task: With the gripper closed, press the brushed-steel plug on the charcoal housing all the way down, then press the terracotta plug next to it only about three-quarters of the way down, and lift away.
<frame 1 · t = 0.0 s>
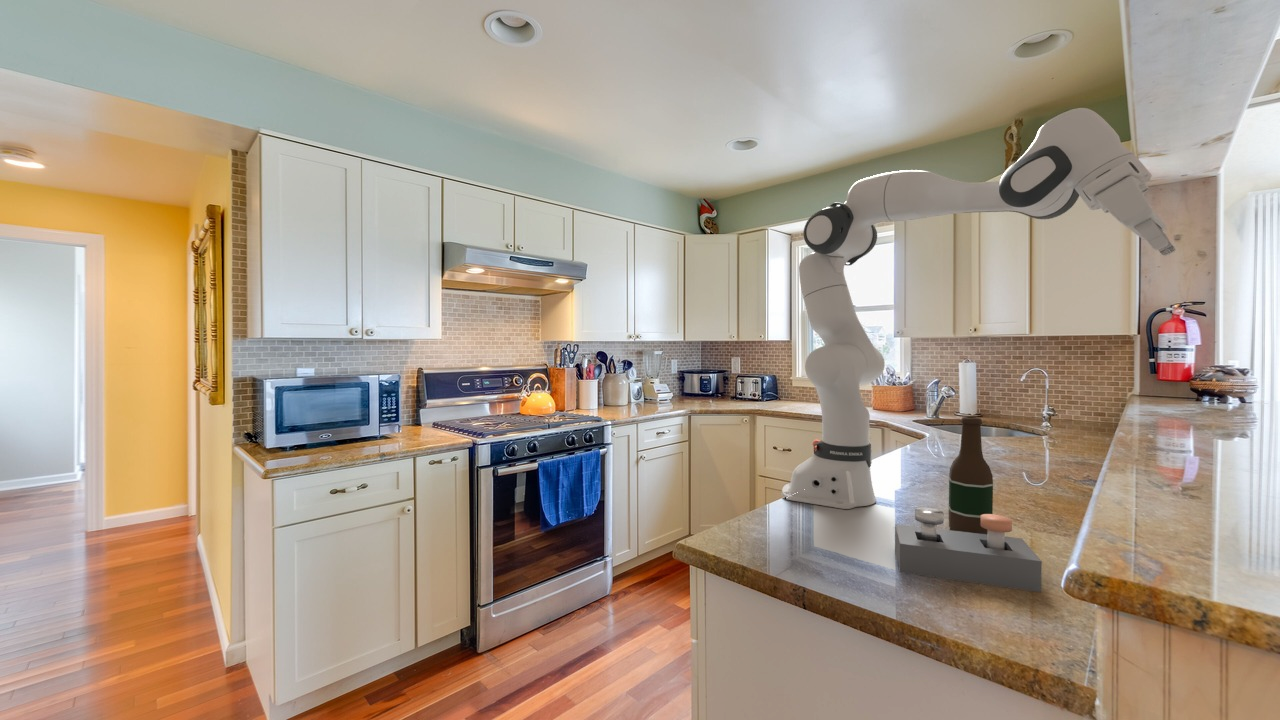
hand: (1166, 250, 85), 54 cm above the table, tool tilted 30°, fingers open, 8 cm apart
beer bottle: (969, 533, 107), on the table
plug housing: (961, 569, 90), on the table
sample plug: (929, 528, 91), point 7 cm above the table, slide at 0.0 cm
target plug: (995, 536, 88), point 7 cm above the table, slide at 0.0 cm
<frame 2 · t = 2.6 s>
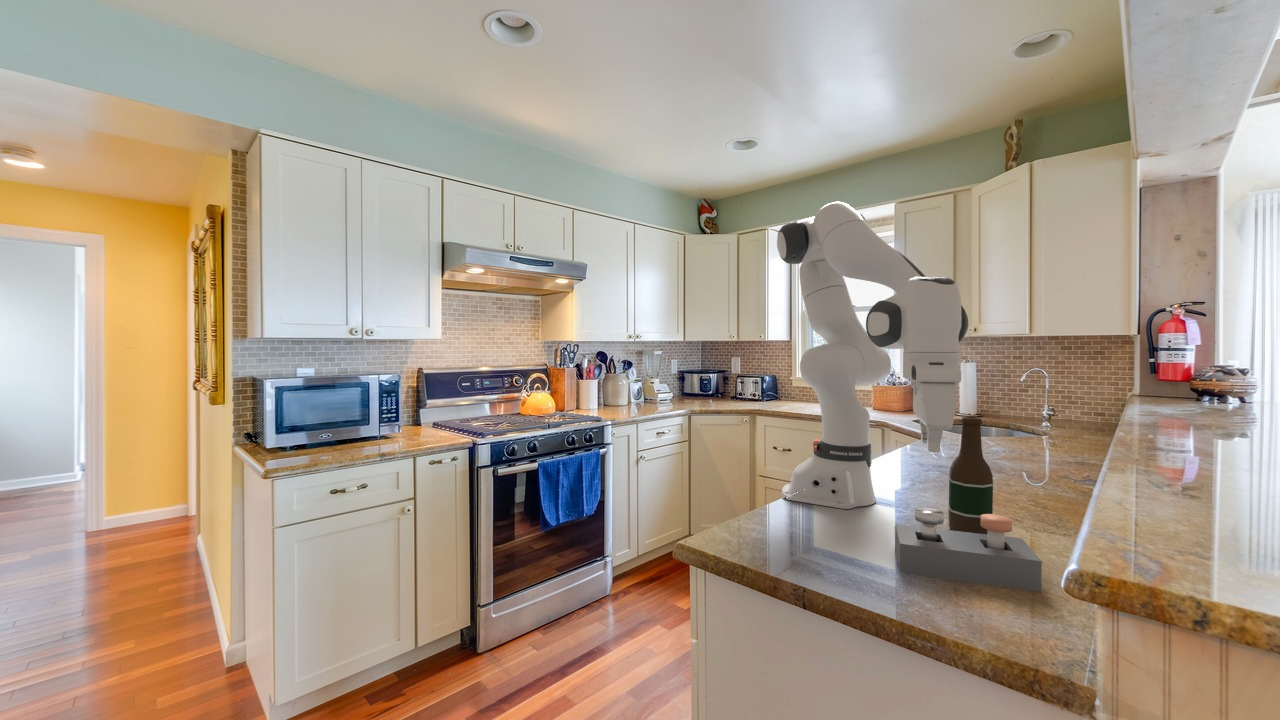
hand: (930, 447, 91), 21 cm above the table, tool pointing down, fingers open, 6 cm apart
nothing on the table moved.
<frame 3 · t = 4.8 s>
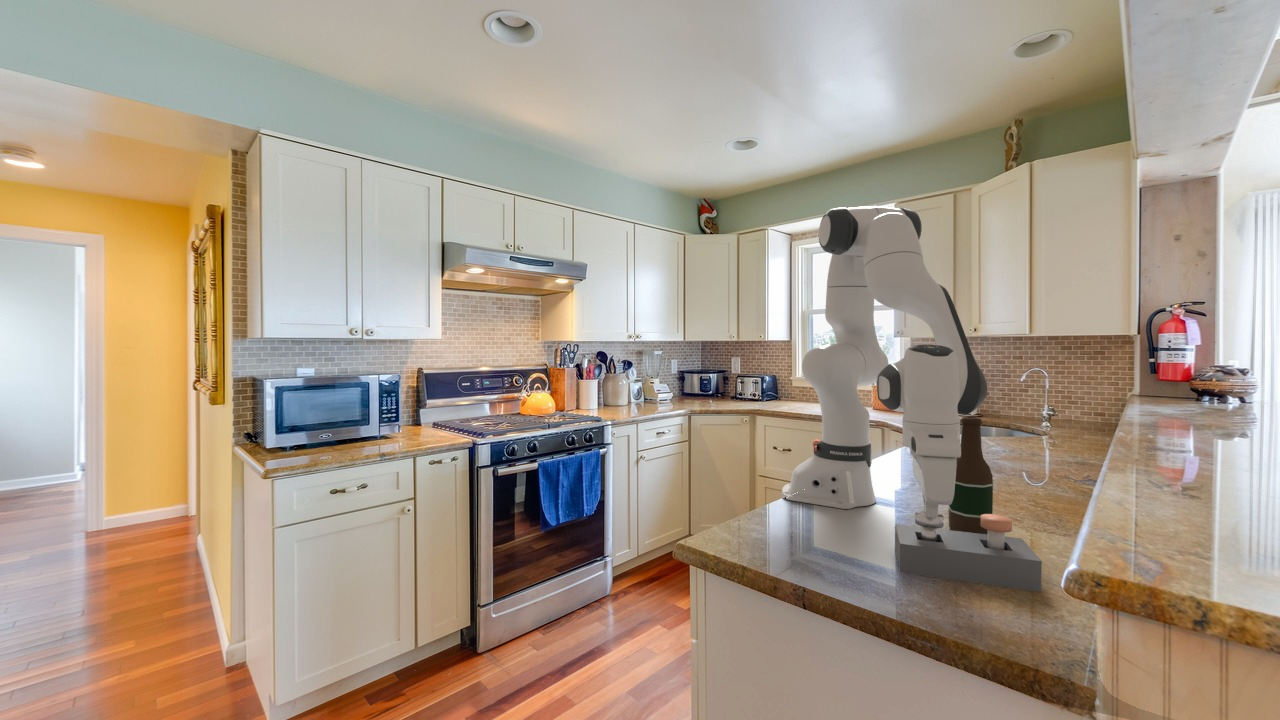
hand: (930, 515, 91), 9 cm above the table, tool pointing down, fingers closed, pressing on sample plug
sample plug: (928, 531, 91), point 6 cm above the table, slide at 0.6 cm, touching gripper
everything else where it was.
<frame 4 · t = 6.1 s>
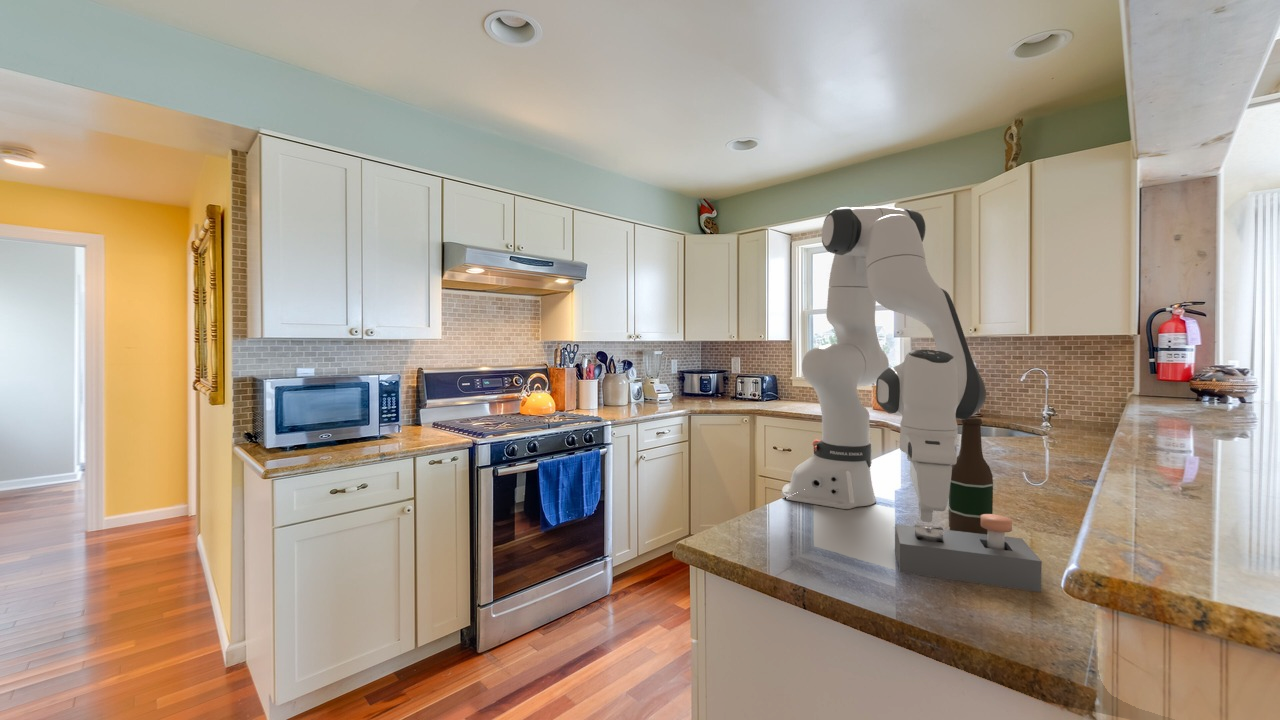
hand: (925, 519, 92), 8 cm above the table, tool pointing down, fingers closed
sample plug: (928, 544, 92), point 4 cm above the table, slide at 2.9 cm
everything else where it was.
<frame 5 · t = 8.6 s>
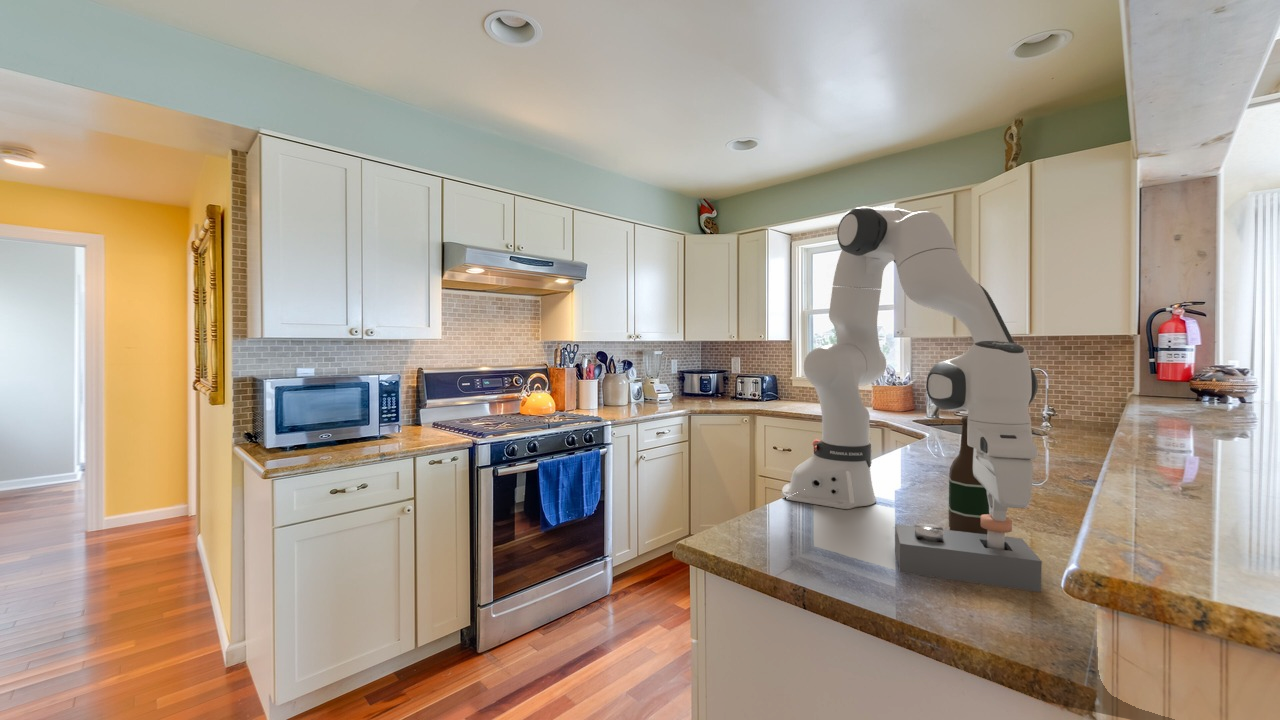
hand: (997, 518, 87), 10 cm above the table, tool pointing down, fingers closed, pressing on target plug
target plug: (995, 536, 88), point 7 cm above the table, slide at 0.1 cm, touching gripper
everything else where it was.
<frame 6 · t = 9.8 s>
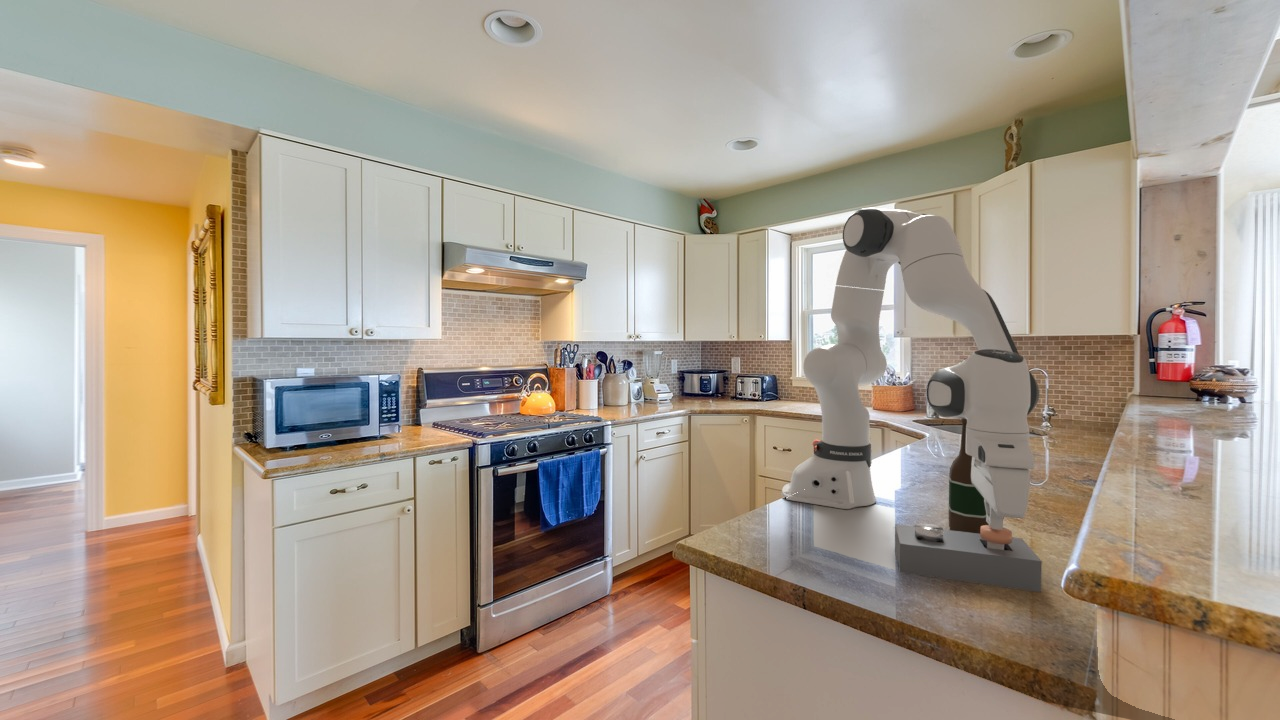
hand: (994, 526, 88), 8 cm above the table, tool pointing down, fingers closed
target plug: (995, 547, 88), point 5 cm above the table, slide at 2.0 cm
everything else where it was.
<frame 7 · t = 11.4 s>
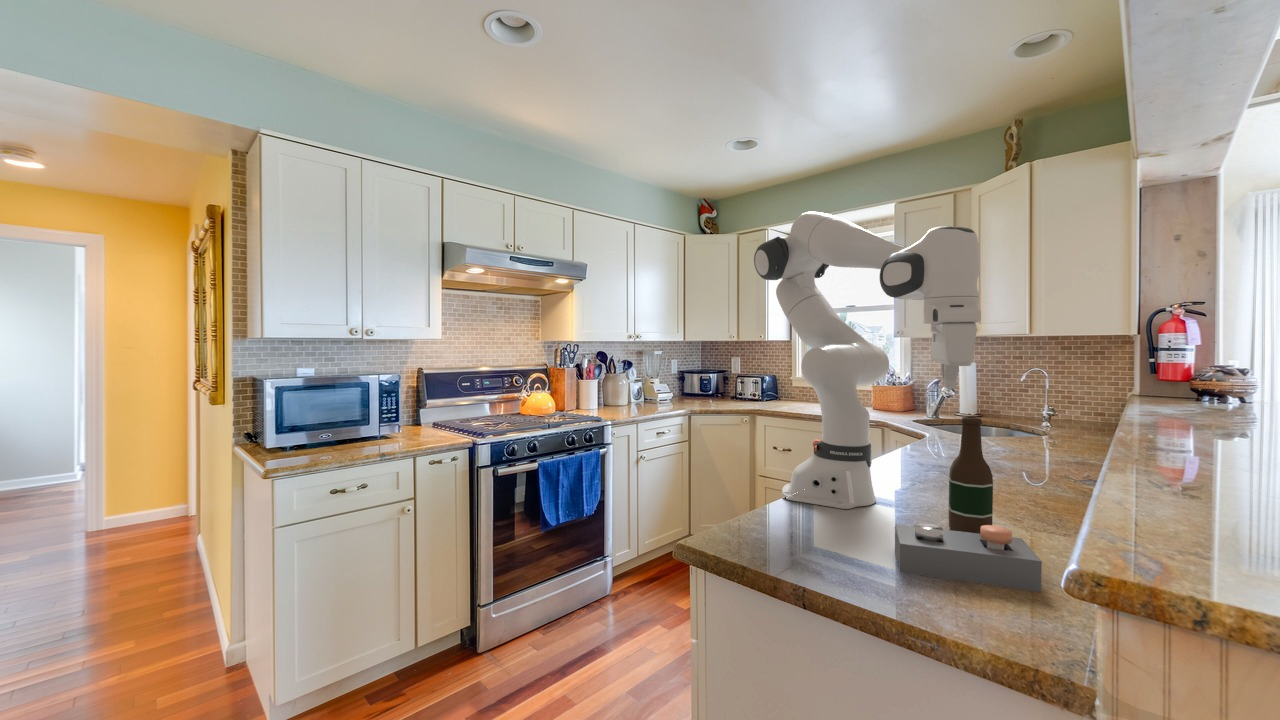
hand: (949, 388, 96), 31 cm above the table, tool pointing down, fingers closed
nothing on the table moved.
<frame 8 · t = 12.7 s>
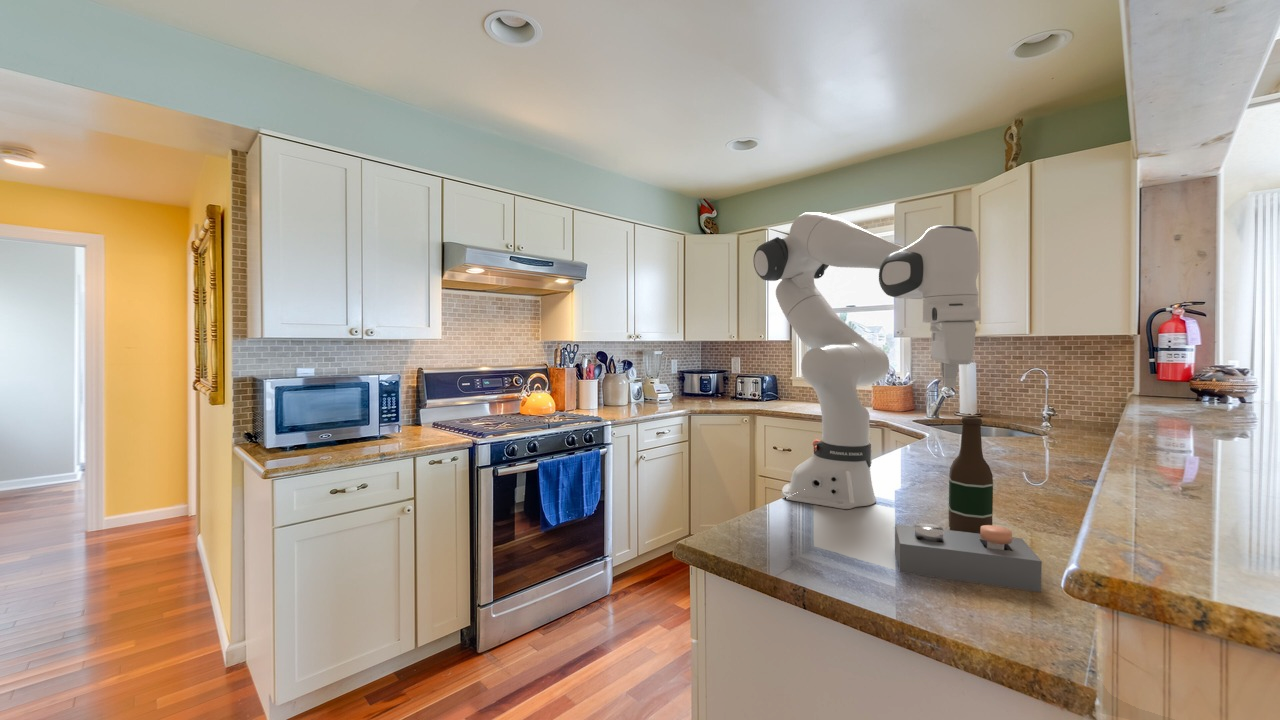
hand: (948, 386, 96), 31 cm above the table, tool pointing down, fingers closed
nothing on the table moved.
at the end: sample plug slide at 2.9 cm; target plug slide at 2.0 cm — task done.
